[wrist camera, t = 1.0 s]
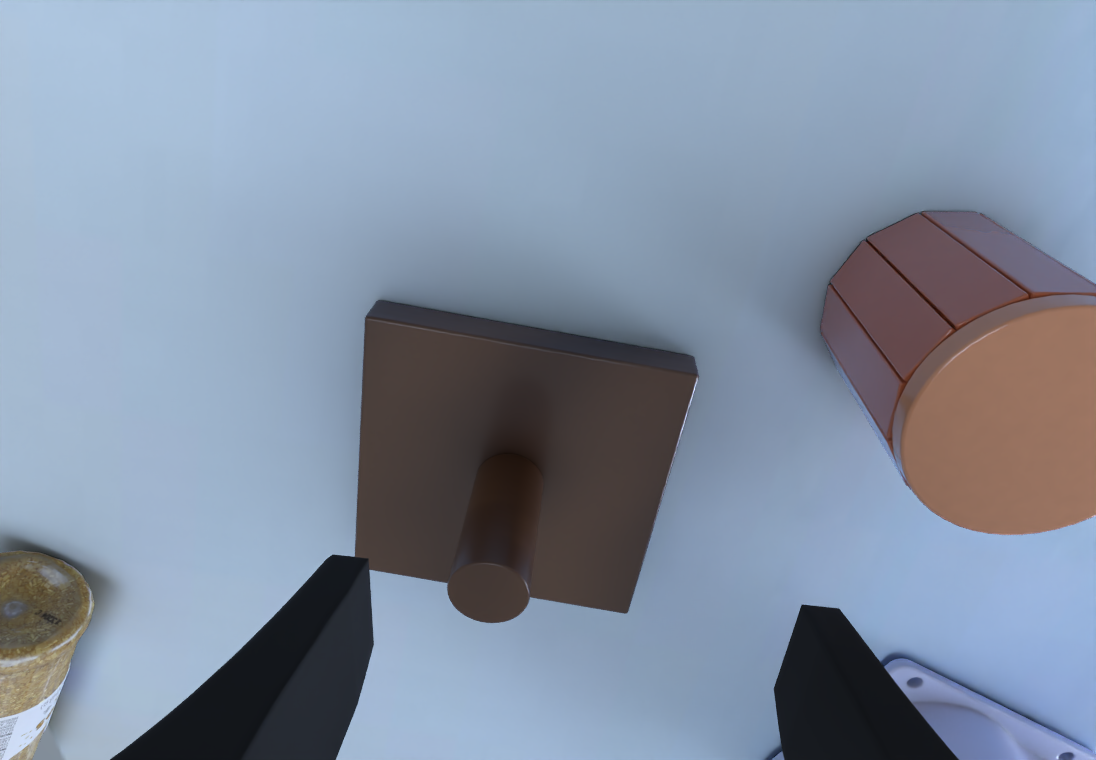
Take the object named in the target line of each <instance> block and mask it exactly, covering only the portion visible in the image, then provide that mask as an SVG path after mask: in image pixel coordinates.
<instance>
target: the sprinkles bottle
mask: <svg viewBox="0 0 1096 760" xmlns="http://www.w3.org/2000/svg"><path fill="white" fill-rule="evenodd" d="M93 608H94V601H93V594H92V592H91V590H90V588H89V584H88V583H87V582H86V581H85V579H84V577H83V575H82V574H81V573H80V572H79V571H78V570H77V569H76V568H74V567H73V566H71V565H68V564H67V563H66V562H65V561H63V560H60V559H56V558H54V557H51V556H49V555H46V554H43V553H39V552H28V551H22V550H18V551H10V552H3V553H0V760H32V758H33V756H34V754H35V751H36V749H37V746H38V743H39V741H40V739H41V736H42V734H43V733H44V732H45V730H46V728H47V726H48V723H49V720H50V718H51V715H52V712H53V710H54V708H55V705H56V702H57V700H58V697H59V695H60V692H61V690H62V687H63V685H64V682H65V680H66V677H67V674H68V672H69V669H70V665H71V658H72V656H73V653H74V651H75V648H76V645H77V642H78V640H79V639H80V637H81V636H82V635H83V633H84V631H85V630H86V628H87V627H88V625H89V622H90V620H91V617H92V613H93Z"/></svg>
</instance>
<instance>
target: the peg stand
mask: <svg viewBox="0 0 1096 760" xmlns="http://www.w3.org/2000/svg"><path fill="white" fill-rule="evenodd" d="M698 378H699V375H698V370H697V366H696V362H695V358H694V357H693V356H688V355H683V354H677V353H671V352H666V351H660V350H655V349H649V348H643V347H638V346H632V345H627V344H621V343H615V342H610V341H604V340H598V339H593V338H587V337H582V336H576V335H570V334H565V333H559V332H553V331H548V330H542V329H537V328H531V327H525V326H520V325H514V324H509V323H503V322H497V321H492V320H486V319H480V318H475V317H469V316H464V315H458V314H452V313H447V312H441V311H436V310H430V309H424V308H419V307H413V306H407V305H402V304H396V303H391V302H385V301H377V302H376V303H375V304H374V306H373V307H372V308H371V310H370V311H369V313H368V314H367V315H366V317H365V333H364V356H363V379H362V402H361V425H360V448H359V471H358V494H357V517H356V540H355V557H360V558H369V570H375V571H380V572H386V573H392V574H398V575H404V576H409V577H415V578H421V579H427V580H433V581H439V582H444V583H448V585H447V591H448V595H449V599H450V601H451V602H452V604H453V605H454V607H455V608H456V609H457V610H458V611H459V612H461V613H462V614H464V615H465V616H467V617H469V618H471V619H473V620H477V621H480V622H486V623H499V622H505V621H508V620H511V619H513V618H515V617H517V616H518V615H519V614H521V613H522V612H523V611H524V609H525V608H526V607H527V605H528V602H529V599H530V597H532V598H537V599H543V600H549V601H555V602H561V603H567V604H572V605H578V606H584V607H590V608H596V609H601V610H607V611H613V612H619V613H627V612H628V611H629V607H630V604H631V601H632V597H633V594H634V591H635V587H636V584H637V581H638V577H639V574H640V571H641V567H642V564H643V561H644V558H645V554H646V551H647V548H648V544H649V541H650V538H651V534H652V531H653V528H654V524H655V521H656V518H657V514H658V511H659V508H660V504H661V501H662V498H663V495H664V491H665V488H666V485H667V481H668V478H669V475H670V471H671V468H672V465H673V461H674V458H675V455H676V451H677V448H678V445H679V441H680V438H681V435H682V432H683V428H684V425H685V422H686V418H687V415H688V412H689V408H690V405H691V402H692V398H693V395H694V392H695V388H696V385H697V382H698Z"/></svg>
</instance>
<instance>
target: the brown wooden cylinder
mask: <svg viewBox="0 0 1096 760" xmlns="http://www.w3.org/2000/svg"><path fill="white" fill-rule="evenodd" d="M867 241H868V242H867ZM867 241H862V243H861V244H860V245H859V246H858V247H857V249H856V250H855V251H854V252H853V254H852V255H851V256H850V257H849V259H848V260H847V261H846V262H845V263H844V265H843V266H842V267H841V268H840V270H839V271H838V272H837V273H836V274H835V276H834V277H833V278H832V279H831V281H830V282H831V284H832V285H831V284H830V285H828V289H827V294H826V300H825V305H824V311H823V316H822V322H821V327H820V330H821V331H822V332H821V336H822V338H823V340H824V342H825V344H826V346H827V349H828V351H829V353H830V355H831V357H832V359H833V361H834V364H835V366H836V368H837V370H838V372H839V373H840V375H841V377H842V378H843V380H844V382H845V383H846V385H847V387H848V388H849V390H850V392H851V393H852V395H853V397H854V398H855V400H856V402H857V404H858V405H859V407H860V409H861V410H862V412H863V414H864V415H865V417H866V419H867V420H868V422H869V424H870V425H871V427H872V429H873V430H874V432H875V434H876V435H877V437H878V439H879V440H880V442H881V444H882V446H883V447H884V449H885V451H886V452H887V454H888V456H889V457H890V459H891V461H892V462H893V464H894V466H895V467H896V469H897V471H898V472H899V474H900V476H901V477H902V479H903V481H904V482H905V484H906V485H907V486H908V487H909V488H910V490H912V491H913V493H914V494H915V495H916V496H917V498H918V499H919V500H920V501H921V502H922V503H923V504H924V505H925V506H926V507H927V508H928V509H929V510H931V511H932V512H933V513H935V514H936V515H938V516H940V517H941V518H943V519H944V520H947V521H949V522H951V523H953V524H955V525H957V526H960V527H963V528H966V529H970V530H973V531H978V532H983V533H988V534H1000V535H1023V534H1033V533H1041V532H1046V531H1051V530H1056V529H1060V528H1063V527H1067V526H1070V525H1074V524H1076V523H1079V522H1082V521H1084V520H1087V519H1089V518H1092V517H1094V516H1096V284H1095V283H1093V282H1092V281H1090V280H1088V279H1087V278H1085V277H1084V276H1082V275H1080V274H1079V273H1077V272H1075V271H1074V270H1072V269H1071V268H1069V267H1067V266H1066V265H1064V264H1063V263H1061V262H1059V261H1058V260H1056V259H1054V258H1053V257H1051V256H1050V255H1048V254H1046V253H1045V252H1043V251H1041V250H1040V249H1038V248H1037V247H1035V246H1033V245H1032V244H1030V243H1029V242H1027V241H1025V240H1024V239H1022V238H1020V237H1019V236H1017V235H1016V234H1014V233H1012V232H1011V231H1009V230H1007V229H1006V228H1004V227H1003V226H1001V225H999V224H998V223H996V222H995V221H993V220H991V219H990V218H988V217H986V216H985V215H983V214H981V213H980V214H978V213H977V212H922V214H919V213H916V214H914V215H912V216H910V217H908V218H906V219H904V220H902V221H900V222H898V223H896V224H894V225H892V226H890V227H888V228H886V229H883V230H881V231H879V232H877V233H875V234H873V235H871V236H869V237H867Z"/></svg>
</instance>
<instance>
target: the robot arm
mask: <svg viewBox="0 0 1096 760" xmlns="http://www.w3.org/2000/svg"><path fill="white" fill-rule="evenodd" d="M373 645H374V641H373V625H372V608H371V591H370V574H369V558H360V557H350V556H341V555H332V556H330V557H329V558H327V559H326V560H325V561H324V563H323V564H322V565H321V566H320V567H319V568H318V569H317V570H316V571H315V573H314V574H313V575H312V576H311V577H310V578H309V579H308V580H307V581H306V582H305V584H304V585H303V586H302V587H301V588H300V589H299V590H298V591H297V592H296V593H295V594H294V595H293V596H292V598H291V599H290V600H289V601H288V602H287V603H286V604H285V605H284V606H283V607H282V608H281V609H280V610H279V611H278V612H277V613H276V614H275V615H274V616H273V617H272V618H271V619H270V620H269V621H268V622H267V623H266V624H265V625H264V626H263V627H262V628H261V629H260V630H259V631H258V632H257V633H256V634H255V635H254V636H253V637H252V638H251V639H250V640H249V641H248V642H247V643H246V644H245V645H244V646H243V647H242V648H241V649H240V650H239V651H238V652H237V653H236V654H235V655H234V656H233V657H232V658H231V659H230V660H229V661H228V662H227V663H225V664H224V665H223V666H222V667H221V668H220V669H219V670H218V671H217V672H216V673H214V674H213V675H212V676H211V677H210V678H209V679H208V680H207V681H206V682H205V683H203V684H202V685H201V686H200V687H199V688H198V689H197V690H196V691H195V692H194V693H192V694H191V695H190V696H189V697H188V698H187V699H186V700H184V701H183V702H182V703H181V704H180V705H178V706H177V707H176V708H175V709H174V710H173V711H171V712H170V713H169V714H168V715H167V716H165V717H164V718H163V719H162V720H161V721H159V722H158V723H157V724H156V725H154V726H153V727H152V728H151V729H149V730H148V731H147V732H146V733H144V734H143V735H142V736H140V737H139V738H138V739H137V740H135V741H134V742H133V743H132V744H130V745H129V746H128V747H126V748H125V749H124V750H122V751H121V752H120V753H118V754H117V755H116V756H114V757H113V758H112V759H110V760H336V757H337V755H338V752H339V750H340V747H341V745H342V742H343V740H344V737H345V735H346V732H347V730H348V727H349V725H350V722H351V719H352V717H353V714H354V712H355V709H356V706H357V704H358V700H359V697H360V693H361V690H362V686H363V683H364V679H365V675H366V672H367V668H368V664H369V660H370V657H371V653H372V649H373ZM774 693H775V701H776V709H777V717H778V725H779V732H780V738H781V745H782V751H781V752H780V753H779V754H778V755H777V756H775V757H774V758H773V759H772V760H1096V754H1095V753H1094V752H1093V751H1091V750H1089V749H1087V748H1085V747H1083V746H1081V745H1079V744H1077V743H1075V742H1073V741H1071V740H1069V739H1067V738H1065V737H1063V736H1061V735H1059V734H1057V733H1055V732H1053V731H1051V730H1049V729H1047V728H1045V727H1043V726H1041V725H1039V724H1037V723H1035V722H1033V721H1031V720H1029V719H1027V718H1025V717H1023V716H1021V715H1019V714H1017V713H1015V712H1013V711H1011V710H1009V709H1007V708H1005V707H1003V706H1001V705H999V704H997V703H995V702H993V701H991V700H989V699H987V698H985V697H983V696H981V695H979V694H977V693H975V692H973V691H971V690H969V689H967V688H965V687H963V686H961V685H959V684H957V683H955V682H953V681H951V680H949V679H947V678H945V677H943V676H941V675H939V674H937V673H935V672H933V671H931V670H929V669H927V668H925V667H923V666H921V665H919V664H917V663H915V662H913V661H911V660H908V659H895V660H892V661H891V662H889V663H888V664H887V665H885V666H883V665H882V664H881V663H880V661H879V660H878V659H877V657H876V656H875V655H874V653H873V652H872V651H871V649H870V648H869V647H868V646H867V644H866V643H865V642H864V640H863V639H862V638H861V636H860V635H859V634H858V632H857V631H856V630H855V628H854V627H853V626H852V624H851V623H850V622H849V621H848V619H847V618H846V617H845V615H844V614H843V613H842V612H841V610H840V609H838V608H829V607H819V606H810V605H802V606H801V609H800V612H799V615H798V618H797V621H796V624H795V627H794V630H793V633H792V636H791V639H790V642H789V645H788V648H787V651H786V654H785V657H784V660H783V663H782V666H781V669H780V672H779V675H778V678H777V681H776V684H775V687H774Z"/></svg>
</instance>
